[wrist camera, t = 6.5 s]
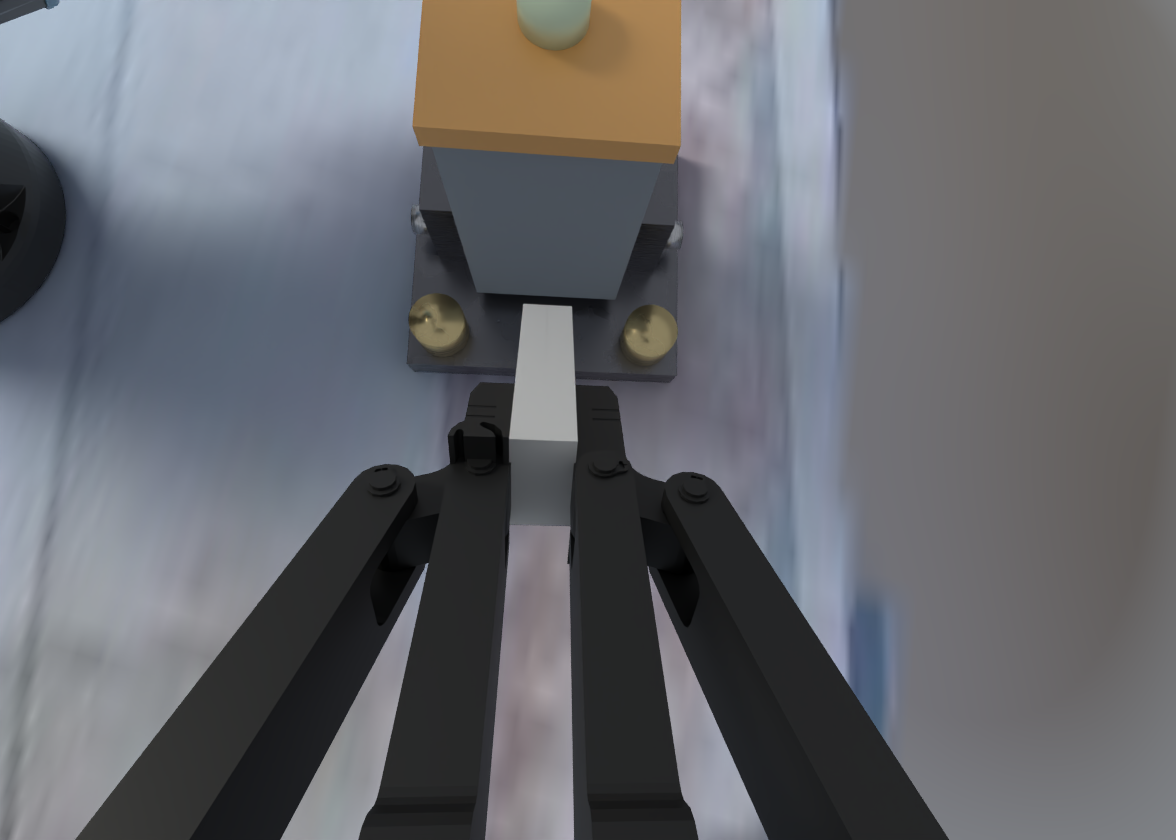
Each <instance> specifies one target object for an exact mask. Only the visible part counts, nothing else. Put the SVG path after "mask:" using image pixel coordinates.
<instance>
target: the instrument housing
mask: <svg viewBox="0 0 1176 840" xmlns="http://www.w3.org/2000/svg"><path fill="white" fill-rule="evenodd" d="M413 129H414V132H415V135H416V138H417V141H418V144H419V146H428V147H432V149H433V153H434V156H435V159H436V162H437V166H438V169H439V172H440V175H441V178H442V182H443V185H444V188H445V191H446V195H447V198H448V201H449V204H450V207H451V211H452V214H453V217H454V220H455V224H456V227H457V230H458V233H459V236H460V240H461V243H462V246H463V249H464V253H465V256H466V259H467V262H468V265H469V269H470V272H471V275H472V278H473V281H474V285H475V288H476V291H477V292H478V293H497V294H515V295H534V296H553V297H572V298H590V299H609V300H615V299H616V296H617V293H618V291H619V288H620V285H621V282H622V279H623V276H624V273H625V270H626V267H627V264H628V262H629V259H630V256H631V253H632V250H633V247H634V244H635V241H636V238H637V236H638V233H639V230H640V227H641V224H642V221H643V218H644V215H645V212H646V210H647V207H648V204H649V201H650V198H651V195H652V192H653V189H654V186H655V183H656V181H657V178H658V175H659V172H660V169H661V166H662V163H668V164H674V162H675V159H676V157H677V154H678V152H679V149H680V146H681V0H423V2H422V15H421V27H420V40H419V52H418V64H417V77H416V89H415V102H414V114H413Z"/></svg>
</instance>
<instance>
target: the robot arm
mask: <svg viewBox="0 0 1176 840" xmlns="http://www.w3.org/2000/svg"><path fill="white" fill-rule="evenodd" d="M59 1H60V0H0V24H2V23H5V22H8V21H10V20H13V19H16V18H18V17H21V16H24V15H26V14H29V13H32V12H34V11H37V10H39V9H42V8H46V9H51V8H54V6H57V5H58V4H59ZM64 229H65V202H64V196H63V192H62V188H61V185H60V182H59V179H58V177H57V174H56V172H55V171H54V169H53V167H52V165H51V164H50V162H49V160H48V159H47V158H46V156H45V155H44V154H43V153H42V151H41V150H40V149H39V148H38V147H37V146H36V145H35V144H34V143H33V142H32V141H31V140H29V139H28V138H27V137H26V136H24V135H23V134H22V133H20V132H19V131H17V130H16V129H14V128H13V127H12V126H10V125H9V124H7V123H6V122H5V121H3V120H2V119H0V321H2V320H4V319H5V318H7V317H8V316H9V315H11V314H12V313H13V312H15V311H16V310H17V309H18V308H19V307H21V306H22V305H23V304H24V303H25V302H26V301H27V300H28V299H29V298H30V297H31V296H32V295H33V294H34V292H35V291H36V290H37V289H38V288H39V286H40V285H41V284H42V283H43V281H44V280H45V278H46V277H47V275H48V273H49V272H50V270H51V268H52V266H53V264H54V262H55V260H56V258H57V255H58V253H59V250H60V247H61V243H62V240H63V235H64ZM448 444H449V455H450V464H449V465H448V466H446V467H445V468H443V469H441V470H439V471H436V472H433V473H429V474H425V475H420V476H415V477H414V475H413V474H412V473H411V472H410V471H409V470H408V469H407V468H405V467H402V466H399V465H391V464H384V465H379V466H374V467H372V468H370V469H367V470H365V471H363V472H362V473H361V474H360V475H359V476H357V477H356V478H355V479H354V481H353V482H352V483H351V484H350V486H349V487H348V488H347V490H346V491H345V492H344V493H343V495H342V496H341V497H340V499H339V500H338V501H337V502H336V504H335V505H334V506H333V508H332V509H331V510H330V512H329V513H328V514H327V515H326V517H325V518H324V519H323V521H322V522H321V523H320V524H319V526H318V527H317V528H316V530H315V531H314V532H313V533H312V535H311V536H310V537H309V539H308V540H307V541H306V543H305V544H304V545H303V546H302V548H301V549H300V550H299V552H298V553H297V554H296V555H295V557H294V558H293V559H292V561H291V562H290V563H289V564H288V566H287V567H286V568H285V570H284V571H283V572H282V574H281V575H280V576H279V577H278V579H277V580H276V581H275V583H274V584H273V585H272V586H271V588H270V589H269V590H268V592H267V593H266V594H265V595H264V597H263V598H262V599H261V601H260V602H259V603H258V604H257V606H256V607H255V608H254V610H253V611H252V612H251V614H250V615H249V616H248V617H247V619H246V620H245V621H244V623H243V624H242V625H241V626H240V628H239V629H238V630H237V632H236V633H235V634H234V635H233V637H232V638H231V639H230V641H229V642H228V643H227V645H226V646H225V647H224V648H223V650H222V651H221V652H220V654H219V655H218V656H217V657H216V659H215V660H214V661H213V663H212V664H211V665H210V666H209V668H208V669H207V670H206V672H205V673H204V674H203V676H202V677H201V678H200V679H199V681H198V682H197V683H196V685H195V686H194V687H193V688H192V690H191V691H190V692H189V694H188V695H187V696H186V697H185V699H184V700H183V701H182V703H181V704H180V705H179V706H178V708H177V709H176V710H175V712H174V713H173V714H172V716H171V717H170V718H169V719H168V721H167V722H166V723H165V725H164V726H163V727H162V728H161V730H160V731H159V732H158V734H157V735H156V736H155V737H154V739H153V740H152V741H151V743H150V744H149V745H148V747H147V748H146V749H145V750H144V752H143V753H142V754H141V756H140V757H139V758H138V759H137V761H136V762H135V763H134V765H133V766H132V767H131V768H130V770H129V771H128V772H127V774H126V775H125V776H124V778H123V779H122V780H121V781H120V783H119V784H118V785H117V787H116V788H115V789H114V790H113V792H112V793H111V794H110V796H109V797H108V798H107V799H106V801H105V802H104V803H103V805H102V806H101V807H100V808H99V810H98V811H97V812H96V814H95V815H94V816H93V818H92V819H91V820H90V821H89V823H88V824H87V825H86V827H85V828H84V829H83V830H82V832H81V833H80V834H79V836H78V837H77V838H76V839H75V840H280V839H281V837H282V835H283V833H284V832H285V830H286V828H287V826H288V824H289V822H290V820H291V818H292V816H293V815H294V813H295V811H296V809H297V807H298V805H299V803H300V801H301V800H302V798H303V796H304V794H305V792H306V790H307V788H308V786H309V785H310V783H311V781H312V779H313V777H314V775H315V773H316V771H317V769H318V768H319V766H320V764H321V762H322V760H323V758H324V756H325V754H326V753H327V751H328V749H329V747H330V745H331V743H332V741H333V739H334V738H335V736H336V734H337V732H338V730H339V728H340V726H341V724H342V722H343V721H344V719H345V717H346V715H347V713H348V711H349V709H350V707H351V706H352V704H353V702H354V700H355V698H356V696H357V694H358V692H359V691H360V689H361V687H362V685H363V683H364V681H365V679H366V677H367V675H368V674H369V672H370V670H371V668H372V666H373V664H374V662H375V660H376V659H377V657H378V655H379V653H380V651H381V649H382V647H383V645H384V643H385V642H386V640H387V638H388V636H389V634H390V632H391V630H392V628H393V627H394V625H395V623H396V621H397V619H398V617H399V615H400V613H401V612H402V610H403V608H404V606H405V604H406V602H407V600H408V598H409V596H410V595H411V593H412V591H413V589H414V587H415V585H416V583H417V581H418V580H419V578H420V576H421V574H422V572H423V570H424V567H425V564H426V563H429V564H428V569H427V573H426V578H425V582H424V587H423V592H422V596H421V601H420V605H419V610H418V615H417V619H416V624H415V628H414V633H413V638H412V642H411V647H410V651H409V656H408V661H407V665H406V670H405V674H404V679H403V684H402V688H401V693H400V697H399V702H398V707H397V711H396V716H395V720H394V725H393V730H392V734H391V739H390V743H389V748H388V753H387V757H386V762H385V766H384V771H383V776H382V780H381V785H380V789H379V793H378V797H377V800H376V802H375V805H374V806H373V807H372V809H371V810H370V811H369V812H368V814H367V815H366V818H365V820H364V823H363V825H362V828H361V832H360V836H359V839H358V840H485V832H486V820H487V808H488V796H489V784H490V772H491V759H492V747H493V735H494V723H495V711H496V699H497V686H498V674H499V662H500V650H501V638H502V626H503V613H504V601H505V589H506V577H507V565H508V553H509V526H510V525H543V526H570V525H571V529H570V540H569V552H568V563H567V564H570V618H571V677H572V737H573V796H574V840H698V835H697V830H696V825H695V820H694V817H693V814H692V812H691V809H690V807H689V806H688V805H687V803H686V802H685V801H684V799H683V796H682V793H681V788H680V783H679V776H678V769H677V763H676V756H675V749H674V743H673V736H672V729H671V722H670V716H669V709H668V702H667V696H666V689H665V682H664V675H663V669H662V662H661V655H660V649H659V642H658V635H657V628H656V622H655V615H654V608H653V602H652V595H651V588H650V581H649V575H648V568H647V566H649V571H650V574H651V576H652V578H653V580H654V583H655V585H656V587H657V589H658V592H659V594H660V596H661V598H662V601H663V603H664V605H665V607H666V610H667V612H668V614H669V616H670V619H671V621H672V623H673V625H674V628H675V630H676V632H677V634H678V637H679V639H680V641H681V643H682V646H683V648H684V650H685V652H686V655H687V657H688V659H689V661H690V664H691V666H692V668H693V670H694V673H695V675H696V677H697V679H698V682H699V684H700V686H701V688H702V691H703V693H704V695H705V697H706V700H707V702H708V704H709V706H710V709H711V711H712V713H713V715H714V718H715V720H716V722H717V724H718V727H719V729H720V731H721V733H722V736H723V738H724V740H725V742H726V744H727V747H728V749H729V751H730V753H731V756H732V758H733V760H734V762H735V765H736V767H737V769H738V771H739V774H740V776H741V778H742V780H743V783H744V785H745V787H746V789H747V792H748V794H749V796H750V798H751V801H752V803H753V805H754V807H755V810H756V812H757V814H758V816H759V819H760V821H761V823H762V825H763V828H764V830H765V832H766V834H767V837H768V839H769V840H949V839H948V837H947V836H946V834H945V833H944V831H943V830H942V828H941V826H940V825H939V823H938V822H937V820H936V819H935V817H934V816H933V814H932V813H931V811H930V810H929V808H928V807H927V805H926V804H925V802H924V800H923V799H922V797H921V796H920V794H919V793H918V791H917V790H916V788H915V786H914V785H913V783H912V782H911V780H910V779H909V777H908V776H907V774H906V773H905V771H904V770H903V768H902V767H901V765H900V763H899V762H898V760H897V759H896V757H895V756H894V754H893V753H892V751H891V750H890V748H889V746H888V745H887V743H886V742H885V740H884V739H883V737H882V736H881V734H880V733H879V731H878V730H877V728H876V726H875V725H874V723H873V722H872V720H871V719H870V717H869V716H868V714H867V713H866V711H865V710H864V708H863V706H862V705H861V703H860V702H859V700H858V699H857V697H856V696H855V694H854V693H853V691H852V690H851V688H850V686H849V685H848V683H847V682H846V680H845V679H844V677H843V676H842V674H841V673H840V671H839V670H838V668H837V666H836V665H835V663H834V662H833V660H832V659H831V657H830V656H829V654H828V653H827V651H826V650H825V648H824V646H823V645H822V643H821V642H820V640H819V639H818V637H817V636H816V634H815V633H814V631H813V630H812V628H811V626H810V625H809V623H808V622H807V620H806V619H805V617H804V616H803V614H802V613H801V611H800V610H799V608H798V606H797V605H796V603H795V602H794V600H793V599H792V597H791V596H790V594H789V593H788V591H787V590H786V588H785V586H784V585H783V583H782V582H781V580H780V579H779V577H778V576H777V574H776V573H775V571H774V570H773V568H772V566H771V565H770V563H769V562H768V560H767V559H766V557H765V556H764V554H763V553H762V551H761V550H760V548H759V546H758V545H757V543H756V542H755V540H754V539H753V537H752V536H751V534H750V533H749V531H748V530H747V528H746V526H745V525H744V523H743V522H742V520H741V519H740V517H739V516H738V514H737V513H736V511H735V510H734V508H733V506H732V505H731V503H730V502H729V500H728V499H727V497H726V496H725V494H724V493H723V491H722V490H721V488H720V487H719V486H718V485H717V484H716V483H715V482H714V481H713V480H712V479H710V478H708V477H706V476H705V475H702V474H698V473H694V472H681V473H678V474H675V475H673V476H671V477H670V478H669V479H668V480H667V482H666V483H665V482H662V481H658V480H654V479H651V478H648V477H646V476H643V475H642V474H640V473H638V472H637V471H635V470H634V469H633V468H632V466H631V464H630V462H629V461H628V460H627V458H626V455H625V447H624V440H623V433H622V426H621V422H620V412H619V405H618V398H617V396H616V395H615V394H614V393H613V391H612V390H611V389H610V388H609V387H608V386H585V385H575V367H574V344H573V321H572V306H555V305H537V304H523V312H522V321H521V331H520V340H519V350H518V359H517V368H516V378H515V384H509V383H485V382H480V383H479V384H478V386H477V387H476V388H475V389H474V390H473V391H472V392H471V393H470V398H469V403H468V408H467V412H466V417H465V421H463V422H460V423H458V424H457V425H456V426H454V427H453V428H452V429H451V431H450V432H449V434H448Z"/></svg>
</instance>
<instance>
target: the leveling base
mask: <svg viewBox="0 0 1176 840" xmlns="http://www.w3.org/2000/svg"><path fill="white" fill-rule="evenodd" d="M677 170H678V154H677V157H676V159H675V162H674V164H668V163H662V166H661V169H660V172H659V175H658V178H657V181H656V183H655V186H654V189H653V192H652V195H651V198H650V201H649V204H648V207H647V210H646V212H645V215H644V218H643V221H642V224H641V227H640V230H639V233H638V236H637V238H636V241H635V244H634V247H633V250H632V253H631V256H630V259H629V262H628V264H627V267H626V270H625V273H624V276H623V279H622V282H621V285H620V288H619V291H618V293H617V296H616V299H615V300H609V299H590V298H572V297H553V296H534V295H515V294H497V293H478V292H477V291H476V288H475V285H474V281H473V278H472V275H471V272H470V269H469V265H468V262H467V259H466V256H465V253H464V249H463V246H462V243H461V240H460V236H459V233H458V230H457V227H456V224H455V220H454V217H453V214H452V211H451V207H450V204H449V201H448V198H447V195H446V191H445V188H444V185H443V182H442V178H441V175H440V172H439V169H438V166H437V162H436V159H435V156H434V153H433V149H432V147H428V146H423V159H422V172H421V185H420V198H419V204H413V206H412V210H411V224H412V229H413V232H414V234H417V238H416V251H415V264H414V277H413V290H412V303H411V310H410V313H409V326H410V330H409V343H408V356H407V364H408V365H409V366H410V367H411V368H412V369H413V370H414V371H415V372H438V373H461V374H484V375H507V376H516V368H517V359H518V350H519V340H520V331H521V321H522V312H523V304H537V305H555V306H572V321H573V344H574V367H575V378H576V379H599V380H623V381H646V382H669V383H670V382H671V381H672V380H673V379H674V378H675V377H676V376H677V334H678V328H677V250H679V249H680V247H681V243H682V238H683V223H682V221H677Z"/></svg>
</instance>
